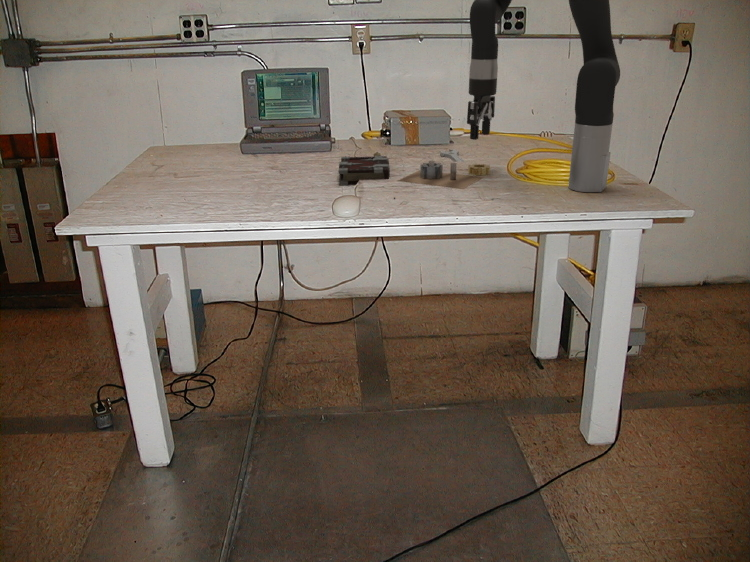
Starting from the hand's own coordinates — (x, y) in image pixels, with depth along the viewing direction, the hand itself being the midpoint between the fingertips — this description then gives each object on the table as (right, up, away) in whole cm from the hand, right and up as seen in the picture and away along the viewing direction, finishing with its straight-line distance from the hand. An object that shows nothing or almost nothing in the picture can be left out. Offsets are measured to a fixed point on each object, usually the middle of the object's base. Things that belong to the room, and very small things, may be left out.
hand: (479, 136), depth 175 cm
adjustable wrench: (-4, -2, +26) cm, 27 cm away
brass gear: (0, -11, +5) cm, 12 cm away
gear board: (-11, -13, -1) cm, 18 cm away
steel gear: (-14, -11, +1) cm, 18 cm away
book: (-33, -9, +12) cm, 36 cm away
